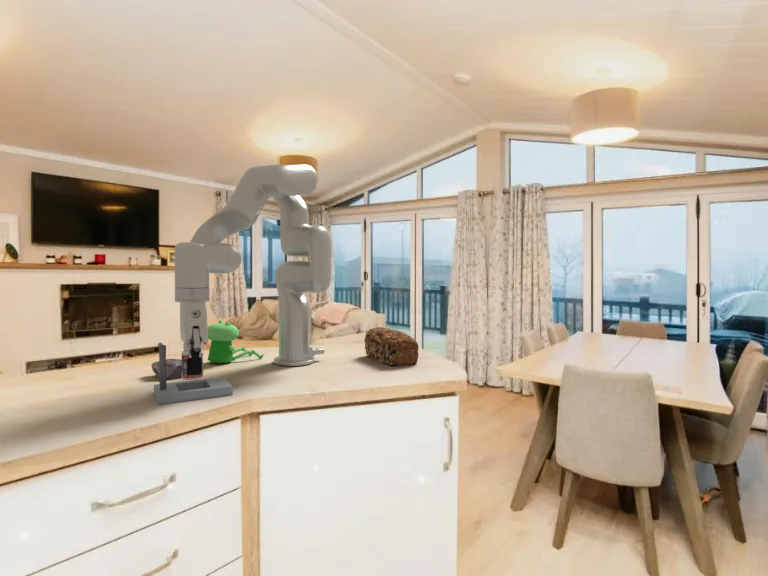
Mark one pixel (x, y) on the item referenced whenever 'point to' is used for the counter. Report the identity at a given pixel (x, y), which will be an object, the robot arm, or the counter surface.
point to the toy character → (225, 343)
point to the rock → (170, 368)
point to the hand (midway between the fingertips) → (192, 371)
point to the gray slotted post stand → (187, 386)
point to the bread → (391, 346)
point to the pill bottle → (184, 364)
